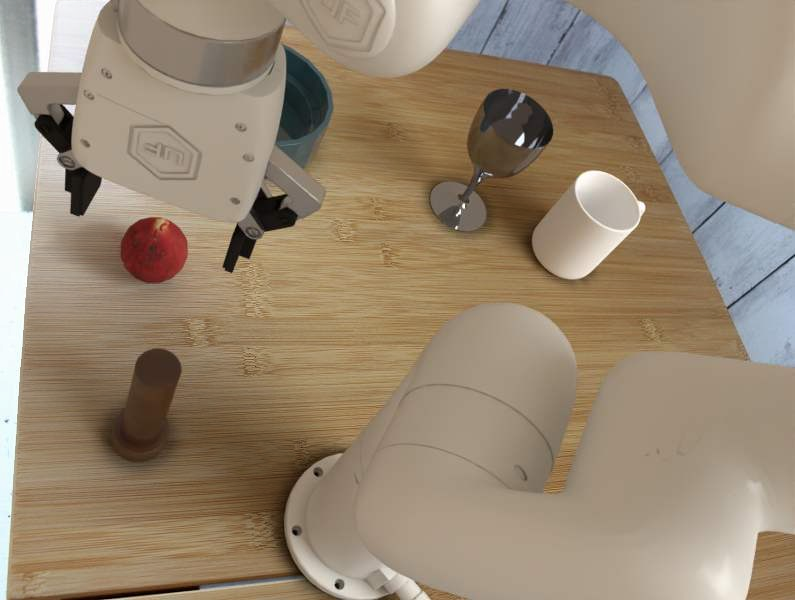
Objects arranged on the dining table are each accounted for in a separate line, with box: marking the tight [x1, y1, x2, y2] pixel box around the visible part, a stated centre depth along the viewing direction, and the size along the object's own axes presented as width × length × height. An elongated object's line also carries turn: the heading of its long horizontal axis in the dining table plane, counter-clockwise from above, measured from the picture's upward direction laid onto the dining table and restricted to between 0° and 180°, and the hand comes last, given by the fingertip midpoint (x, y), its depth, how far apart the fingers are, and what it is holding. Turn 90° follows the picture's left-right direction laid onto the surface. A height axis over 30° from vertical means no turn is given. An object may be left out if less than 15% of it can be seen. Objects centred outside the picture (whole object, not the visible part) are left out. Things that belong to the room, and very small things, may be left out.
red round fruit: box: [119, 216, 189, 284], centre depth 74 cm, size 6×6×8 cm
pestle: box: [110, 348, 183, 463], centre depth 64 cm, size 4×4×13 cm
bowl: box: [263, 43, 334, 180], centre depth 89 cm, size 15×15×6 cm
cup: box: [531, 169, 646, 280], centre depth 95 cm, size 8×12×10 cm
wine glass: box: [429, 88, 554, 233], centre depth 90 cm, size 8×8×15 cm
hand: (161, 227), depth 53 cm, fingers open, 9 cm apart
